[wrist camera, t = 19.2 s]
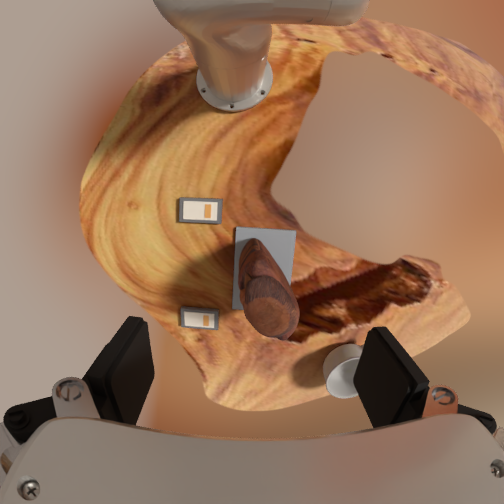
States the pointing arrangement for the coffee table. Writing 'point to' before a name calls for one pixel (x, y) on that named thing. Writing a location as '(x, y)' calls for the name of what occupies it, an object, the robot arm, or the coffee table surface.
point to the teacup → (342, 370)
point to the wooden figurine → (266, 292)
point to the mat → (275, 242)
